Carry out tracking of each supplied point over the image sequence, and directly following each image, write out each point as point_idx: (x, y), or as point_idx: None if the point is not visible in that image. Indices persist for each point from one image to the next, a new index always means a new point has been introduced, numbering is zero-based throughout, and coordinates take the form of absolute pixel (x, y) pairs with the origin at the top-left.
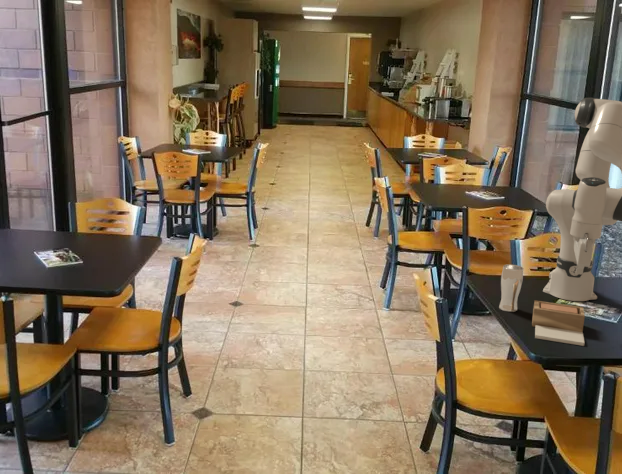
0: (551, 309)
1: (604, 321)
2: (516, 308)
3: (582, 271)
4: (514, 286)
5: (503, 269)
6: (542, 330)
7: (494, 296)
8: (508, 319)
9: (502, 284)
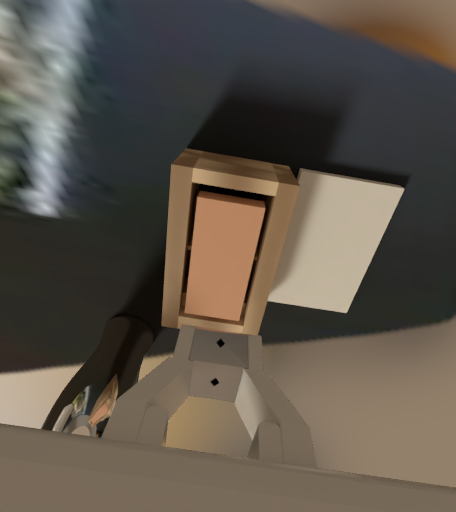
0: (245, 292)
1: (100, 17)
2: (136, 323)
3: (262, 356)
4: None
5: None
6: (306, 290)
7: (41, 349)
8: None
9: None
